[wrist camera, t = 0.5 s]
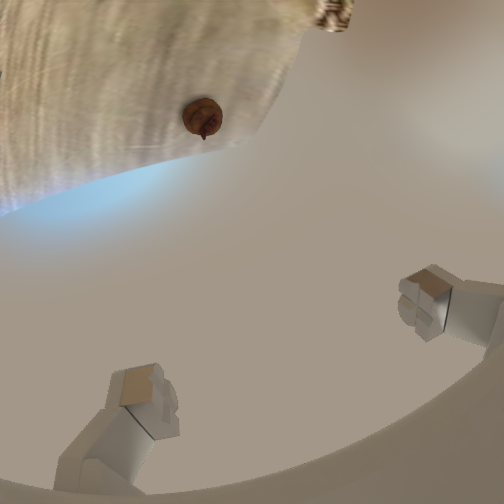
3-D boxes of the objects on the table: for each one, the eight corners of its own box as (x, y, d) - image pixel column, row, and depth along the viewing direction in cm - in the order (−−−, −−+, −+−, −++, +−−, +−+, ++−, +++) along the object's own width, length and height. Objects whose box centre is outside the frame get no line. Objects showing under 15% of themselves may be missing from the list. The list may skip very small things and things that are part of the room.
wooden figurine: (190, 133, 51) (201, 157, 40) (176, 109, 47) (182, 125, 36) (221, 116, 51) (242, 134, 40) (208, 91, 47) (225, 101, 36)
